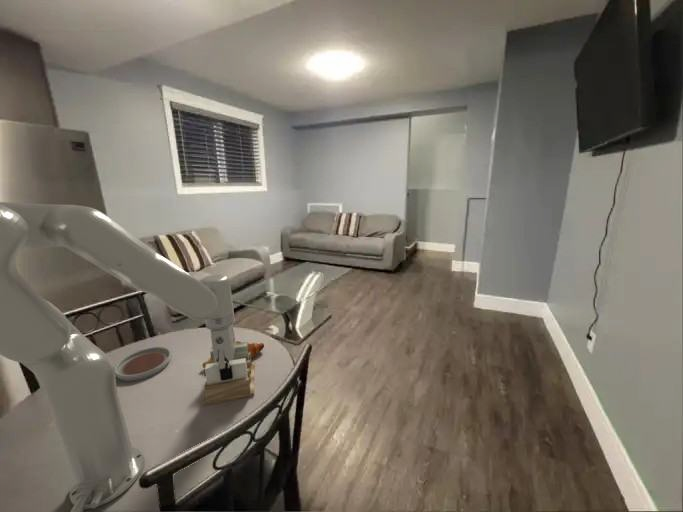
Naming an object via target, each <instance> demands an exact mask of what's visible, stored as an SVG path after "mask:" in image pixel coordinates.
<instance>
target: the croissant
mask: <svg viewBox="0 0 683 512" xmlns="http://www.w3.org/2000/svg"><path fill="white" fill-rule="evenodd" d="M235 341H236V344H238V343H245V341H244V342H241V341H237V340H235ZM247 345H248V353H249V352H250V353H251V359H252V358H253V357H255V356H257V355H258V354H259V353H260V352H261V351H262V350H263V349H264V347H265V344H264V343H263V342H260V343H257V342H252V343H249V342H247ZM211 363H212V360H211V356H210V357H209V358H208V359H207V360H205V361H204V362H202V365H201V366H202V368H203V369H205V367H206V364H211Z"/></svg>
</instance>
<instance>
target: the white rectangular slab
mask: <svg viewBox="0 0 683 512" xmlns="http://www.w3.org/2000/svg"><path fill="white" fill-rule="evenodd" d="M225 363H227V361H225ZM230 366H231V367H232V374H233V378H232V379H228V380H223V381H222V380H221V377H220V370H219V362H218V363H211V364H206V367H205V368H204V372H205V378H206V385H211V384H216V383H222V382H227V381H233V380H238V379H244V378H248V372H247V364H246V358H243V359H237V360H232V361H230Z"/></svg>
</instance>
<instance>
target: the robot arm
mask: <svg viewBox="0 0 683 512" xmlns="http://www.w3.org/2000/svg"><path fill="white" fill-rule="evenodd" d="M58 247H59V248H60V247H61V248H63V247H64V248H66V249H68V250H69V251H71V252H73V253H74V254H76V255H77V256H80V257H81V258H83V260H85V261H88V262H90V263H91V264H93V265H94V266H96V267H98V268H99V269H101V270H103V271H104V272H106V273H108V274H109V275H111V276H113V277H114V278H116V279H118V280H119V281H121V282H123V283H125V284H126V285H129V286H130V287H132V288H134V289H136V290H139V291H140V292H143V293H146V294H147V295H150V296H153V297H154V298H157V299H158V300H160V301H162V302H164V303H165V304H166V306H167V307H168V308H169V309H171V310H172V311H174V312H176V313H179V314H181V315H184V316H185V317H187V318H190V319H191V320H194V321H204V322H205V323H204V324H205V327H206V329H207V330H210V338H211V348H213V355H214V360H215V362H216V363H218V360H219V370H220V377H221V380H222V381H223V380H228V379H232V378H233V374H232V367H231V366H230V361H232V360H233V359H234V354H235V347H236V341H237V340H236V337H235V331H234V324H235V322H236V320H235V318H236V317H235V312H234V311H235V309H234V303H233V296H232V286H231V280H230V278H229V277H228V276H227V275H225V274H212V275H208V276H205V277H204V278H201V279H197V278H196V277H194V276H193V275H191V274H190V273H188V272H187V271H186V270H184V269H182V268H181V267H179V266H178V265H176V264H175V263H173V262H171V260H169V259H168V258H166V257H164V256H163V255H161V254H160V253H158V252H156V250H154V249H152V247H150V246H149V245H147V244H146V243H144V242H143V241H142V240H140V239H138V237H136V236H134V235H133V234H132V233H130V231H128V230H127V229H125V228H124V226H121V225H120V224H119V223H118V222H117V221H115V220H114V219H113V218H111V217H109V216H108V215H107V214H105V213H103V212H102V211H100V210H98V209H96V208H94V207H90V206H85V205H77V204H53V203H52V204H49V203H47V204H45V203H27V202H26V203H23V202H10V201H9V202H7V201H0V356H2V357H4V358H6V359H7V360H10V361H13V362H15V363H16V362H17V363H21V364H22V365H23V366H24V367H26V368H27V369H28V370H29V371H31V372H32V373H33V374H34V375H35V377H36V379H37V380H38V383H40V386H41V387H42V388H43V390H44V393H45V394H46V396H47V398H48V401H49V403H50V406H51V412H52V414H53V418H54V420H55V424H56V427H57V430H58V433H59V436H60V438H61V442H62V443H63V446H64V450H65V453H66V456H67V458H68V461H69V464H70V467H71V470H72V472H73V476H74V479H75V480H74V482H73V483H72V485H71V487H70V490H69V499H70V502H71V505H73V507H72V509H71V510H70V512H84V510H89V509H96V508H98V507H101V506H103V505H105V504H108V503H109V502H111V501H113V500H114V499H116V498H117V497H119V496H120V495H122V494H123V493H125V491H127V490H128V489H129V488H130V487H131V486H132V485H133V484H134V483H135V482H136V480H137V479H138V477H139V476H140V475H141V473H142V471H143V468H144V466H145V457H144V454H143V452H142V451H141V450H140V449H139V448H137V447H133V446H132V443H131V438H130V435H129V431H128V427H127V423H126V420H125V416H124V411H123V408H122V405H121V402H120V399H119V397H120V396H119V393H118V390H117V389H118V388H117V377H116V375H115V369H114V368H115V366H114V363H113V362H112V360H111V359H110V357H109V356H108V355H107V354H106V353H105V352H104V351H103V350H101V348H99V347H98V346H97V345H95V344H94V343H93V342H92V341H91V340H90V339H89V338H87V337H86V336H85V335H84V334H83V333H82V332H80V330H79V329H78V328H77V327H76V326H75V325H74V324H73V323H72V322H71V321H70V320H69V319H68V318H67V316H66V315H65V314H64V313H63V312H62V311H61V310H60V309H59V308H58V307H56V305H54V304H53V303H51V302H50V301H49V300H46V299H45V298H44V297H43V296H42V295H40V293H39V292H38V291H36V290H35V289H34V287H33V286H32V285H31V284H30V283H29V282H28V281H27V280H26V278H24V277H23V276H22V275H21V274H20V272H19V270H18V268H17V267H16V266H17V265H16V261H17V256H18V254H19V253H20V252H21V250H22V249H43V248H44V249H45V248H58ZM225 361H227V363H225Z"/></svg>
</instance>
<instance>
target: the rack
mask: <svg viewBox="0 0 683 512" xmlns="http://www.w3.org/2000/svg"><path fill="white" fill-rule="evenodd" d="M247 343H248V342H246V341H244V343H243V342H241V343H238V344H236V347H235V354H234V359H233V360H237V359H243V358H246V364H247V372H248V378H244V379H238V380H233V381H227V382H222V383H216V384H211V385H207V384H206V385H205V386H204V392H205V394H204V397H203V401H202V405H203V406H208V405H212V404H219V403H224V402H227V401H233V399H234V400H238V399H237V398H239V399H243V398H242V397H244V398H248V397H247V396H249V397H252V396H251V395H254V396H255V384H254V380H255V379H256V377H255V375H256V374H255V371H256V364H255V362H252V358H251V353H250V352H249V353H248V345H247ZM209 351H210V353H209V354H210V357H211V360H212V363H216V362H215V360H214V355H213V348H212V347H210V350H209ZM218 362H219V360H218Z"/></svg>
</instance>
